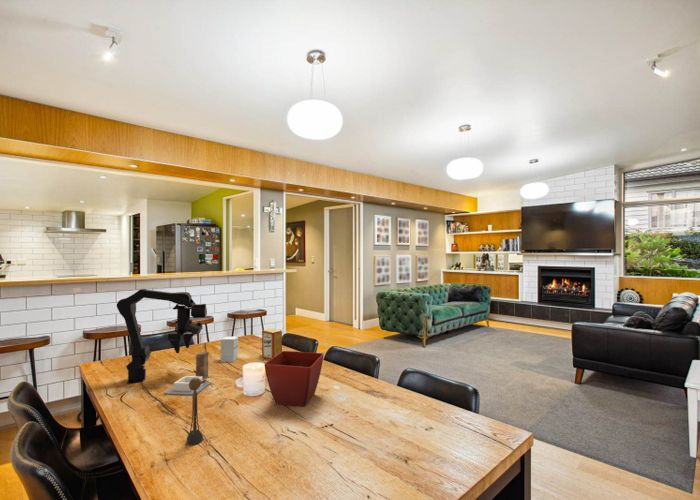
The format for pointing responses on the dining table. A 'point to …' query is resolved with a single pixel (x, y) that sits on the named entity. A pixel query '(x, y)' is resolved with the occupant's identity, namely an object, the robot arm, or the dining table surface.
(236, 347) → the supplement box
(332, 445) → the dining table surface
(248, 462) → the dining table surface
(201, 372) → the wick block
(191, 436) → the wooden tabletop sculpture
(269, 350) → the baking soda box
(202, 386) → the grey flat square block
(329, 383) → the dining table surface
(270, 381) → the plant pot
